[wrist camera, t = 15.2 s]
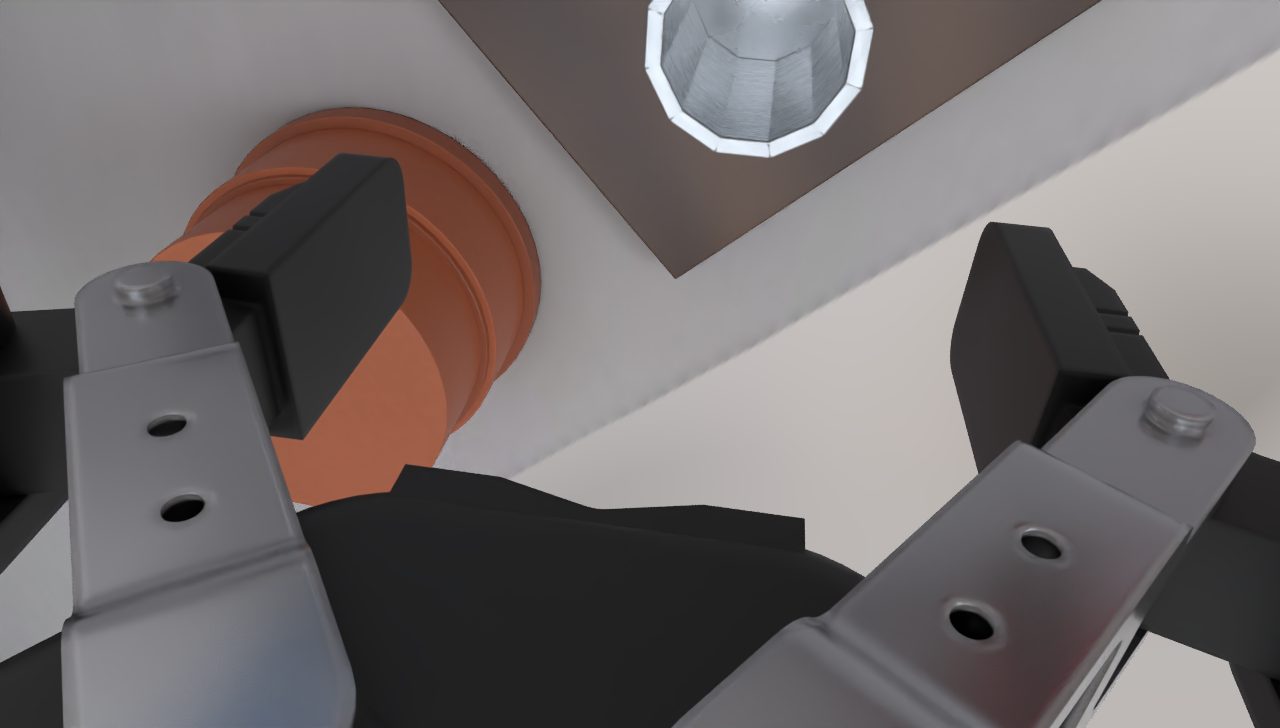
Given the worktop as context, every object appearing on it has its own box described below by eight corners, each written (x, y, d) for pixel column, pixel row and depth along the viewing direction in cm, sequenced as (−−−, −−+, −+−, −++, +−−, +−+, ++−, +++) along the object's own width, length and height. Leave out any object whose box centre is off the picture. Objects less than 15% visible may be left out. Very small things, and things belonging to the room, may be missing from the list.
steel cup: (675, 61, 33) (639, 145, 26) (688, -121, 30) (651, -84, 22) (837, 77, 33) (847, 167, 25) (869, -107, 29) (892, -65, 22)
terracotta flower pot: (268, 372, 47) (153, 500, 38) (204, 91, 38) (41, 178, 30) (543, 408, 45) (485, 550, 37) (539, 125, 37) (463, 226, 29)
